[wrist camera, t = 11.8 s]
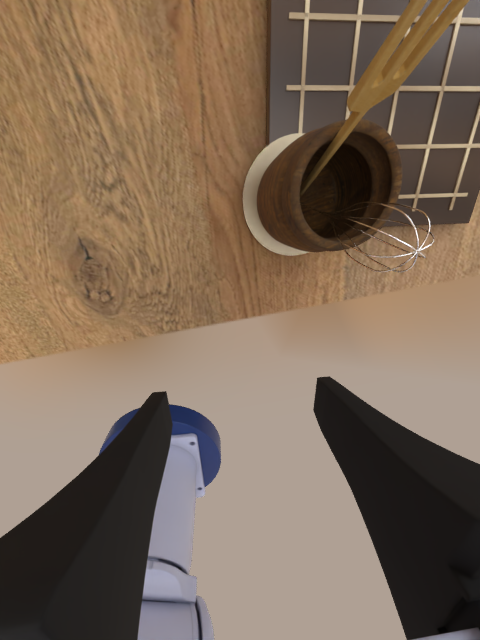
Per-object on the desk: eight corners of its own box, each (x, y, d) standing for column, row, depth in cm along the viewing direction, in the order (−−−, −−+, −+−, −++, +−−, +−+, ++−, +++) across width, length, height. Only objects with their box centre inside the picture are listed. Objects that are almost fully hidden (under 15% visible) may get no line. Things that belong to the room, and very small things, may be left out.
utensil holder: (268, 257, 18) (353, 320, 7) (241, 164, 15) (306, 32, 4) (343, 228, 18) (555, 248, 7) (327, 129, 15) (631, -107, 4)
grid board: (449, 245, 20) (462, 247, 19) (242, 255, 19) (244, 258, 18) (555, -92, 13) (584, -119, 12) (232, -115, 12) (233, -147, 11)
